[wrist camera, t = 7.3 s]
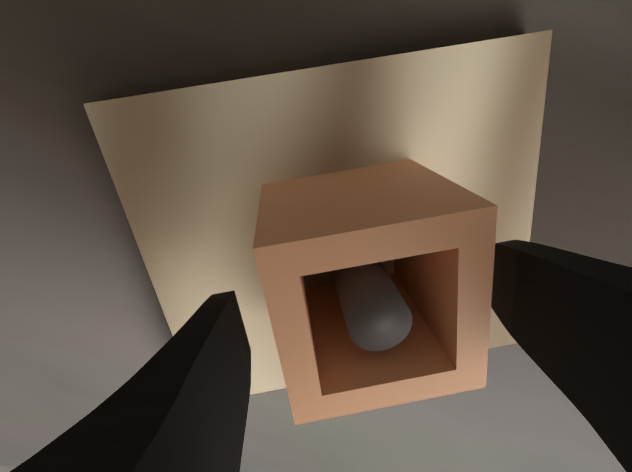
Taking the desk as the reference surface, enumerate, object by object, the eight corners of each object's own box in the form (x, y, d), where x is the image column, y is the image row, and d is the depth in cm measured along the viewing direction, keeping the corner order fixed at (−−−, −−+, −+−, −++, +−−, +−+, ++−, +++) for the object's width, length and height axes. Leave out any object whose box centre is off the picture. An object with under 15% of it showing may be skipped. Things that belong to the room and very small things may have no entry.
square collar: (410, 159, 12) (497, 205, 7) (415, 286, 14) (486, 387, 9) (261, 184, 12) (252, 248, 7) (288, 310, 14) (295, 424, 9)
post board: (526, 35, 12) (727, -7, 7) (502, 325, 17) (607, 436, 11) (101, 102, 11) (-50, 115, 6) (204, 382, 16) (170, 526, 11)
